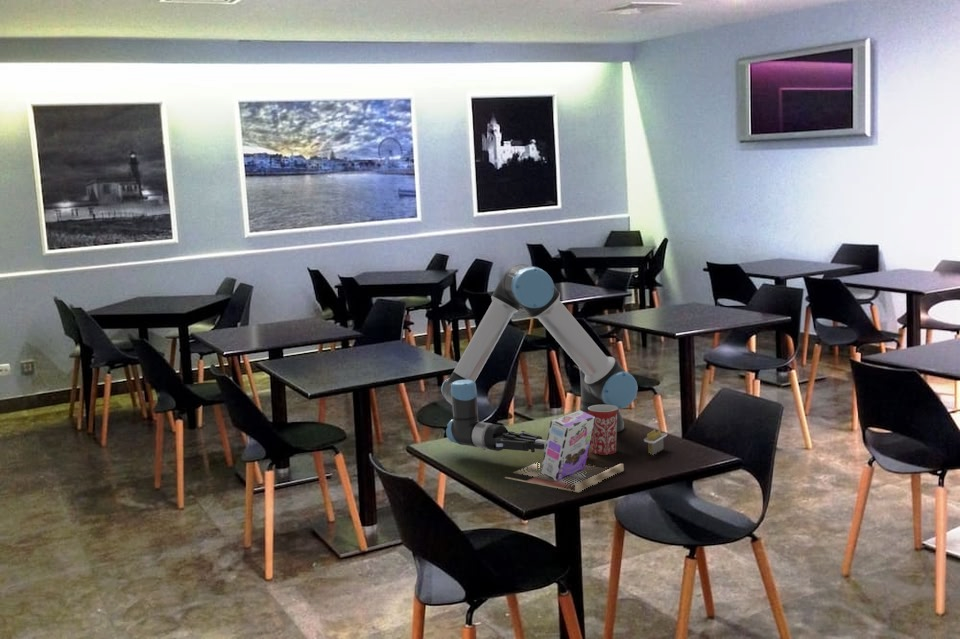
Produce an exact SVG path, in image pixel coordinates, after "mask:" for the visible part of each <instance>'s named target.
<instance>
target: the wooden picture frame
mask: <svg viewBox="0 0 960 639" xmlns="http://www.w3.org/2000/svg"><path fill="white" fill-rule="evenodd" d="M538 462H539V461H537V462H535V463H536V464H535V463H532V464H530V465H528V466H525V467H523V468H524V470H525V472H527V473H525V472H524V471H523V468H520V469H521V471H522V472H521V471H520V469H518V470H516V471H513V472H512V473H513V474H518V475H522V474H523V475H524V476H527V475H528V477H532V476H533V477H532V478H530V479H527V480H526V479H520V478H516V477H512V476H511V477H510V476H505V477H504V479H508V480H513V481H518V482H522V483H529V484H532V485H539V486H541V487H549V488H553V489H557V488H558V489H559V490H564V491H568V492H572V491H573V493H581V492H583V491H584V489H585V490H587V489H588V487H589V488H590V486H591V487H593V486H596V485H598V484H599V483H601V482H603V481H602V480H604V479H606V480H608V479H610V478H612V477H614V476H616V475H618V474H620V473H622V472H624V470H625V468H624V463H619V464H617V465H614V466H612V467H609V469H607V470H605V471H603V472H601V473H599V474H597V475H594V476H592V477H590V478H588V479H585V478H584V477H586V476H585V475H584V474H583V473H584V472H583V470H581V472H583V473H581V472H580V471H579V473H581V474H582V475H583V476H584V477H583V476H582V475H581V474H579V473H578V472H577V474H578V475H577V474H575V473H574V475H571V476H572V477H574V478H572V477H571V476H568V477H570V478H572V479H574V480H572V479H570V478H568V477H566V478H568V479H570V480H572V481H574V482H572V481H570V480H568V479H566V478H564V479H566V480H568V481H570V482H572V483H574V484H572V483H570V482H568V481H566V480H564V479H561V480H558V481H555V480H553V479H551V478H549V477H547V476H545V475H544V474H543V475H544V476H543V475H542V474H540V472H538V471H537V463H538ZM538 464H539V465H538V466H539V467H538V468H540V463H538ZM594 466H595V465H593V467H594ZM527 467H528V471H530V472H528V471H527V470H526V469H527ZM586 467H587V465H586ZM589 467H590V466H589ZM531 468H532V469H531ZM535 469H536V471H537V472H538V473H537V472H536V471H535ZM587 469H588V467H587ZM531 470H533V472H532V471H531ZM539 470H540V469H539ZM588 470H589V469H588ZM591 470H592V469H591ZM585 472H586V470H585ZM586 473H587V472H586ZM586 473H585V474H586ZM617 473H618V474H617ZM538 474H539V475H538ZM615 474H616V475H615ZM540 475H541V476H540ZM613 475H614V476H613ZM538 476H539V477H538ZM611 476H612V477H611ZM609 477H610V478H609ZM575 478H576V479H575ZM579 478H580V479H582V478H583V479H585V480H583V479H582V480H583V481H582V480H580V479H579ZM607 478H608V479H607ZM577 479H578V480H580V481H581V482H580V481H578V480H577ZM563 480H564V481H563ZM575 480H576V481H575ZM565 481H566V482H565ZM577 481H578V482H577ZM604 481H605V480H604ZM567 482H568V483H570V484H572V485H571V487H572V486H573V485H575V487H574V488H573V489H572V490H571V489H570V488H568V489H567V487H568V486H569V485H570V484H568V483H567ZM575 482H576V483H575ZM598 482H599V483H598ZM565 483H566V484H565ZM567 484H568V485H567ZM566 485H567V486H566ZM592 485H593V486H592ZM565 486H566V488H564V487H565ZM586 488H587V489H586ZM582 490H583V491H582Z"/></svg>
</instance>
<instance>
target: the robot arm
mask: <svg viewBox="0 0 960 639" xmlns="http://www.w3.org/2000/svg"><path fill="white" fill-rule="evenodd" d="M560 292H561V291H559V290H558V289H557V287H556V286H555V284H554V281H553V279H552V277H551V276H550V275H549V274H548V272H547V271H545V270H543V269H542V268H540V267H538V266H531V265H529V264H528V265H527V264H524V263H523V264H515V265H513V266H511V267H510V268H508V269H507V270H506V271H505V272H504V273H503V275H502V277H501V278H500V280H499V282H498V283H497V285H496V288H495V289H494V291H493V293H492V295H491V297H490V298H491V303H490V305H489V306H488V309H487V310H486V312H485V314H484V315H483V317H482V319H481V320H480V322H479V324H478V326H477V329H476V330H475V331H474V334H473V336H472V337H471V339H470V341H469V343H468V345H467V346H466V348H465V350H464V352H463V353H462V355H461V357H460V359H459V360H458V363H457V364H456V366H455V367H454V370H453V371H452V373H451V374H450V376H449V377H448V378H446V379H445V380H444V381H443V382H442V385H441V389H440V391H441V394H442V396H443V398H444V400H446V402H447V403H449V404H450V405H451V406H452V419H451V420H449V421H448V423H447V425H446V426H447V428H446V429H445V433H446V437H447V439H448V441H450V442H451V443H454V444H458V445H461V446H469V447H475V448H481V449H482V450H483V451H484V450H491V451H496V452H500V451H503V450H509V451H524V452H529V450H530V451H531V453H535V451H536V450H537V451H541V452H545V448H546V443H547V439H543V437H542V436H541V435H537V434H533V433H530V432H527V431H525V430H521V431H520V433H519V432H515V431H512V430H511V431H509V430H508V429H507V427H506V426H505V425H503V424H502V425H501V424H495V423H491V422H483V421H479V412H478V409H479V408H478V390H477V384H476V380H477V378H478V377H479V375H480V373H481V372H482V370H483V368H484V366H485V364H486V363H487V361H488V359H489V358H490V356H491V354H492V352H493V351H494V349H495V347H496V345H497V343H498V342H499V340H500V338H501V336H502V334H503V332H504V330H506V327H507V325H508V323H510V321H511V319H512V317H513V315H514V314H516V313H518V312H519V311H520V309H522V310H524V313H526V314H527V316H529V317H530V318H531V319H537V320H538V321H539V322H540V323H541V324H542V325H543V327H544V328H545V329H546V330H547V332H549V334H550V335H551V336H552V337H553V338H554V339H555V342H557V343H558V345H560V347H561V348H562V350H564V351H565V353H566V354H567V355H568V356H569V357H570V359H572V361H573V362H574V363H575V364H576V366H578V368H579V376H580V396H581V397H580V399H581V405H580V406H581V408H580V410H581V411H583V412H587V413H589V411H588V407H590V406H593V405H614V406H617V407H618V411H617V433H619V432H623V430H624V429H625V426H624V425H625V423H624V419H623V416H622V413H621V411H620V409H621V410H622V409H625V408H627V407H628V406H630V405H631V404H632V403H633V402H634V401H635V400H636V397H637V395H638V390H639V389H638V382H637V380H636V379H635V377H634V375H632V374H631V373H630V372H628V371H625V369H624V368H623V366H621V364H620V363H619V362H618V361H617V360H616V359H615V358H614V357H613V356H607V355H606V354H605V353H604V352H603V350H602V349H601V348H600V347H599V346H598V344H597V343H596V342H595V341H594V340H593V338H592V337H591V336H590V334H589V333H588V332H587V331H586V330H585V329H584V328H583V326H582V325H581V324H580V323H579V322H578V321H577V319H576V318H575V316H573V314H572V313H571V312H570V311H569V309H568V308H567V307H566V306H565V305H564V304H563V303H562V301H561V300H560V298H561V293H560Z"/></svg>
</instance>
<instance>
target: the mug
mask: <svg viewBox="0 0 960 639" xmlns="http://www.w3.org/2000/svg"><path fill="white" fill-rule="evenodd" d="M588 411H589V413H587V412H585V413H587V414H590V415H592V416H594V417H595V421H594V426H593V431H592V436H591V440H590V448H591V453H593V454H595V455H598V454H599V455H600V456H607V455H608V454H609V455H612V454H615V453H617V438H618V436H617V434H618V432H617V411H618V407H617V406H614V405H593V406H590V407H588Z"/></svg>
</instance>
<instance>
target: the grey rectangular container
mask: <svg viewBox="0 0 960 639" xmlns="http://www.w3.org/2000/svg"><path fill="white" fill-rule="evenodd" d="M661 430H662V429H659V430H658V431H656V429H653V430H652V431H650V432H649V433H647V434H646V435H647V436H646V437H645V438H643V442H645V443H648V445H647V446H648V453H650V454H649V455H651V456H652V455H653V456H655V455H657V454H658V453H659V452H661V451H663V450H664V438H666V437H667V436H668V432H667V433H665V432H662V431H661ZM657 452H658V453H657ZM654 454H655V455H654Z"/></svg>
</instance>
